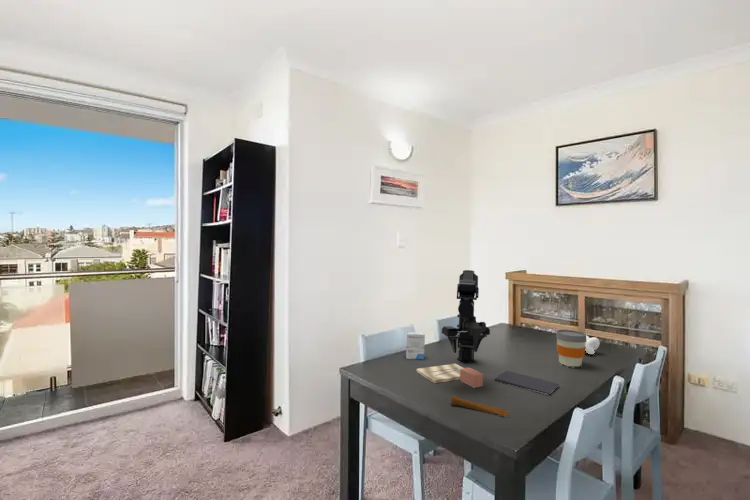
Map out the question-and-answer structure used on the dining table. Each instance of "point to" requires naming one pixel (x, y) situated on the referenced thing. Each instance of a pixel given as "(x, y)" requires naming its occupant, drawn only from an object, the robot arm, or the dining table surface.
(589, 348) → the white rounded figurine
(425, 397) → the dining table surface
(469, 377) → the block
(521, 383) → the notebook
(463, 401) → the primitive tool
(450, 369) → the board
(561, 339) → the reusable coffee cup
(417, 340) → the ink box
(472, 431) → the dining table surface
